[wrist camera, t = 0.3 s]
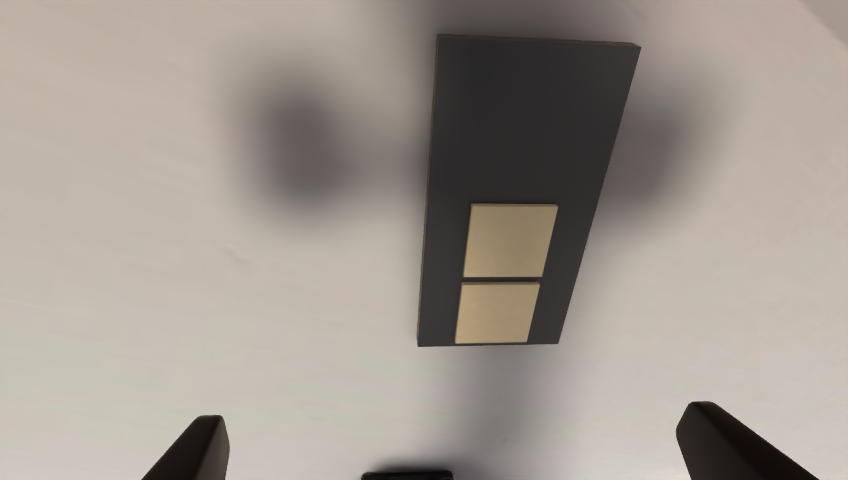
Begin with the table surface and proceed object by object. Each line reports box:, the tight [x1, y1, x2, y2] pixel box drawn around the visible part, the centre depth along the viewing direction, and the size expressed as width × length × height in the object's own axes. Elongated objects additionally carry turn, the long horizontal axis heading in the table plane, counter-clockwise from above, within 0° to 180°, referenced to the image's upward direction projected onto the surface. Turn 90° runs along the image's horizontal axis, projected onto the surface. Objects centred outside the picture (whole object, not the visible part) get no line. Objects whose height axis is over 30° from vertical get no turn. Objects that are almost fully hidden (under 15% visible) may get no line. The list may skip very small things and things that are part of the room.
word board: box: [417, 34, 641, 347], centre depth 23 cm, size 16×8×1 cm, turn 177°
